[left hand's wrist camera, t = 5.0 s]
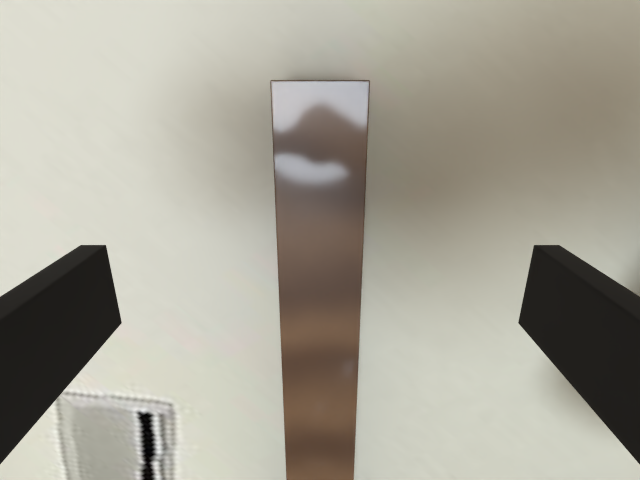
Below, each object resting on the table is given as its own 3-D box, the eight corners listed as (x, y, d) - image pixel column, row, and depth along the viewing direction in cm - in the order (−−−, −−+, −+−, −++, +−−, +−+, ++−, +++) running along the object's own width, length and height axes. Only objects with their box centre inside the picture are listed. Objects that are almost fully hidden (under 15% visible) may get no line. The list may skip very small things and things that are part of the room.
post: (282, 83, 30) (270, 80, 22) (357, 83, 30) (370, 80, 22) (297, 559, 49) (293, 643, 41) (342, 559, 49) (346, 643, 41)
